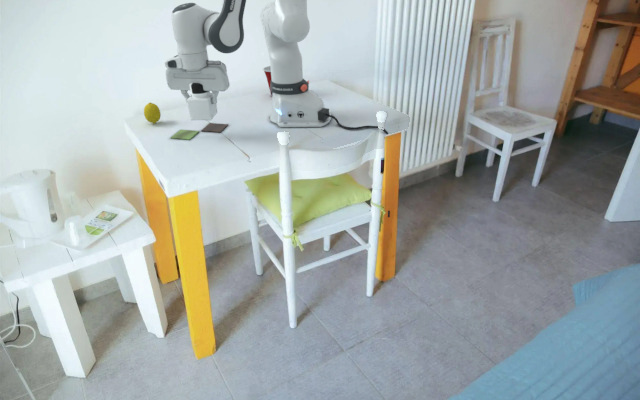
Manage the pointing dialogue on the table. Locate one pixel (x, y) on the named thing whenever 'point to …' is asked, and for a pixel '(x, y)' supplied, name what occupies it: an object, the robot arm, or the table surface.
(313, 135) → the table surface
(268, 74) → the plastic cup
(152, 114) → the lemon
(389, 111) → the table surface
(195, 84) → the medicine bottle
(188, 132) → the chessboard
